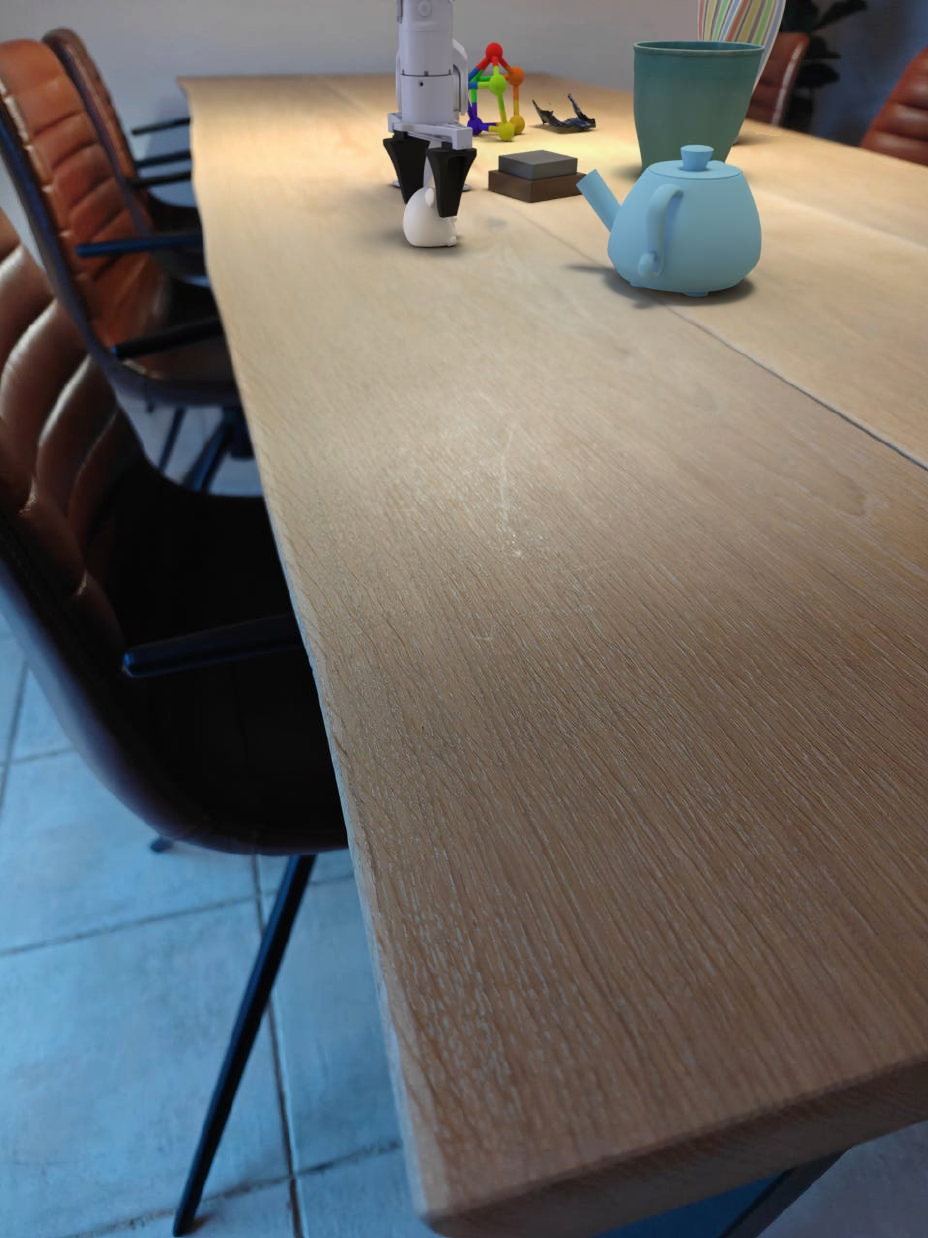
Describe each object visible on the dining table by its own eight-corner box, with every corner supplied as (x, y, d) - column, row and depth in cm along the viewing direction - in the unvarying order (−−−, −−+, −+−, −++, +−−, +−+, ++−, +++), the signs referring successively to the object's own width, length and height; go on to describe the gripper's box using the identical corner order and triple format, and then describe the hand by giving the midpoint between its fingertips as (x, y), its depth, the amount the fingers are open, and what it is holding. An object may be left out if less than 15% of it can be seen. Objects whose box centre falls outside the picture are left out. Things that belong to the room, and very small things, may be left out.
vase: (768, 140, 158) (807, -72, 140) (744, 152, 149) (782, -73, 131) (697, 133, 164) (725, -70, 146) (669, 144, 155) (696, -71, 137)
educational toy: (458, 136, 169) (458, 42, 161) (525, 137, 168) (529, 43, 160) (448, 141, 156) (448, 40, 148) (521, 142, 155) (525, 40, 147)
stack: (487, 189, 127) (488, 154, 124) (542, 181, 132) (543, 147, 129) (530, 202, 120) (531, 166, 118) (585, 193, 125) (588, 158, 122)
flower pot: (666, 160, 144) (681, 36, 133) (764, 176, 133) (789, 43, 123) (597, 177, 134) (607, 44, 123) (697, 195, 123) (718, 52, 113)
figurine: (457, 250, 102) (456, 188, 98) (402, 251, 102) (398, 189, 98) (457, 232, 108) (456, 173, 104) (405, 233, 108) (402, 174, 104)
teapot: (717, 320, 82) (743, 172, 75) (530, 287, 91) (536, 150, 83) (778, 268, 95) (805, 138, 88) (610, 243, 104) (621, 122, 96)
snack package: (585, 123, 175) (527, 122, 174) (590, 87, 170) (531, 86, 169) (597, 145, 167) (537, 144, 165) (603, 108, 162) (541, 107, 161)
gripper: (361, 70, 97) (369, 202, 106) (431, 82, 88) (435, 227, 96) (415, 66, 100) (419, 195, 109) (489, 77, 91) (487, 218, 99)
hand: (430, 209), depth 103 cm, fingers open, 7 cm apart
